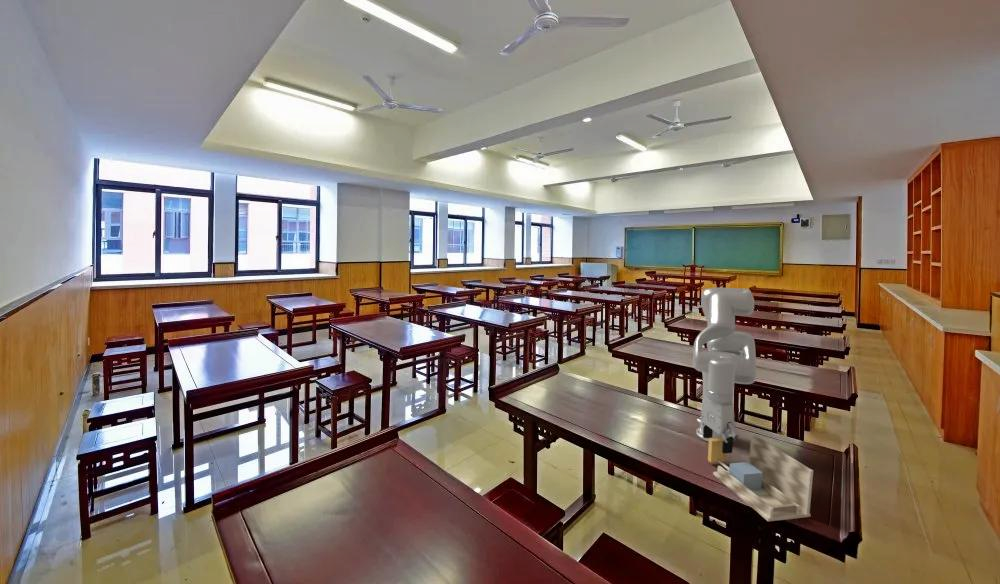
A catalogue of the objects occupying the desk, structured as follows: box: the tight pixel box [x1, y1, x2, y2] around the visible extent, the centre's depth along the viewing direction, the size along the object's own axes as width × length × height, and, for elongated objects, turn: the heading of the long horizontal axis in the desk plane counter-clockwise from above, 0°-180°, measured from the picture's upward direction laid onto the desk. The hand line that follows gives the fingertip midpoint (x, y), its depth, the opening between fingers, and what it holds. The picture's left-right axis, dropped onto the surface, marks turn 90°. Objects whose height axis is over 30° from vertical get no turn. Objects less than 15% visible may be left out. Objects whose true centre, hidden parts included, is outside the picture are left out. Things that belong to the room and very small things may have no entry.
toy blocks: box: [707, 438, 763, 490], centre depth 127 cm, size 17×6×8 cm, turn 8°
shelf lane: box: [712, 433, 814, 522], centre depth 118 cm, size 22×13×13 cm, turn 8°
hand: (716, 444), depth 135 cm, fingers open, 9 cm apart
